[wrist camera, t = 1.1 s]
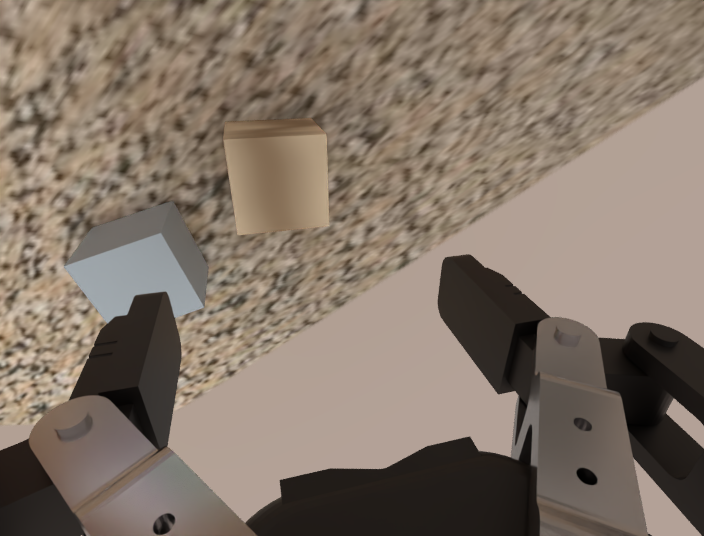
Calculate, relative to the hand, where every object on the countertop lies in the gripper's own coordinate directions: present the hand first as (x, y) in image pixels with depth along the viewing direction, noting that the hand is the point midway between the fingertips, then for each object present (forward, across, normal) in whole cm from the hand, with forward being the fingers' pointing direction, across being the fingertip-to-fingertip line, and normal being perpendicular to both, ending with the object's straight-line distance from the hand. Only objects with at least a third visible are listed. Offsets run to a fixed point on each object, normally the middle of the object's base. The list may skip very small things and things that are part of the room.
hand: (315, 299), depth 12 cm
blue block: (+16, +8, +5) cm, 18 cm away
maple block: (+16, 0, 0) cm, 16 cm away
